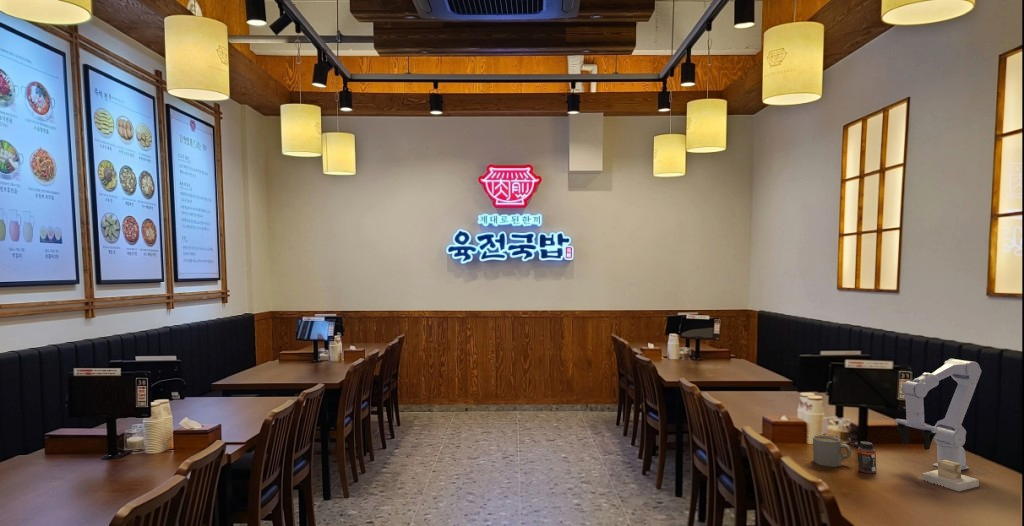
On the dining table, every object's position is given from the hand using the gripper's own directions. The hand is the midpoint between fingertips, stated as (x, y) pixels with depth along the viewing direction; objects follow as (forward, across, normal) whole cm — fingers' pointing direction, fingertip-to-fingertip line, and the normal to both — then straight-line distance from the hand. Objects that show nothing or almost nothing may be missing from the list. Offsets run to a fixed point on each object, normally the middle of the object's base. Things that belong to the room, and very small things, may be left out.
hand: (916, 446), depth 209 cm
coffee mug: (+10, -19, -23) cm, 31 cm away
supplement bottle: (+10, -7, -19) cm, 22 cm away
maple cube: (+7, +13, -3) cm, 15 cm away
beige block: (+10, +13, -3) cm, 17 cm away
